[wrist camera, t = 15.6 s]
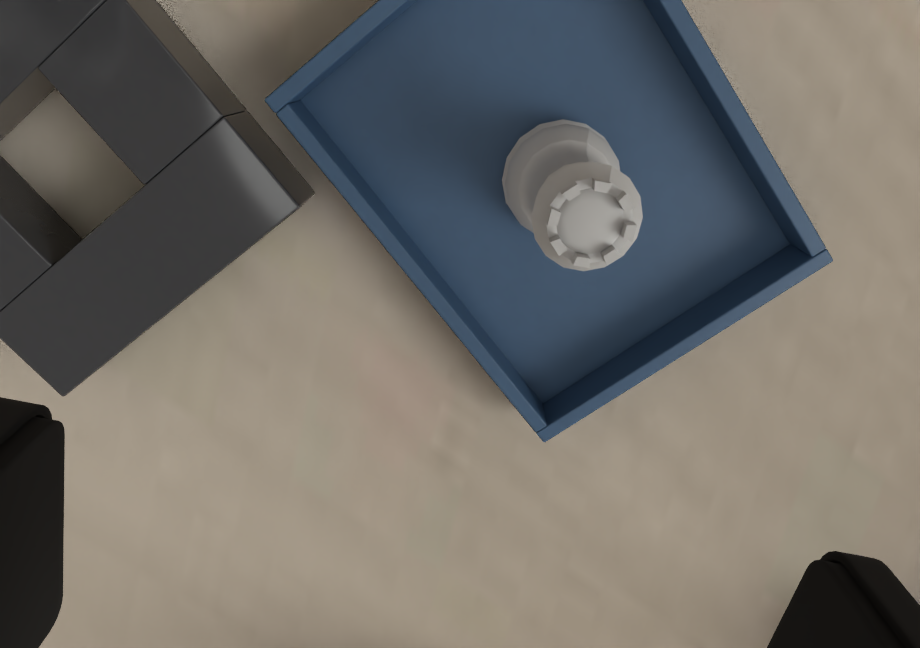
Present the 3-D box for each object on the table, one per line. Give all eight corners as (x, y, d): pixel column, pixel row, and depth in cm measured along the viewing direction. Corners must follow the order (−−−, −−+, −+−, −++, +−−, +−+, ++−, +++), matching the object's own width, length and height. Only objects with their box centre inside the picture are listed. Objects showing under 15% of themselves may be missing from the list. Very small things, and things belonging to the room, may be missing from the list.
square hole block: (-153, 127, 27) (-219, 135, 25) (69, -106, 24) (20, -125, 22) (96, 368, 31) (62, 397, 28) (316, 192, 28) (300, 207, 25)
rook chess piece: (529, 99, 26) (553, 118, 19) (636, 145, 27) (701, 181, 19) (483, 209, 28) (488, 267, 20) (585, 250, 28) (627, 321, 21)
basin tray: (281, 95, 27) (263, 99, 24) (569, -152, 24) (580, -175, 21) (538, 414, 31) (543, 443, 29) (804, 243, 28) (834, 261, 26)
